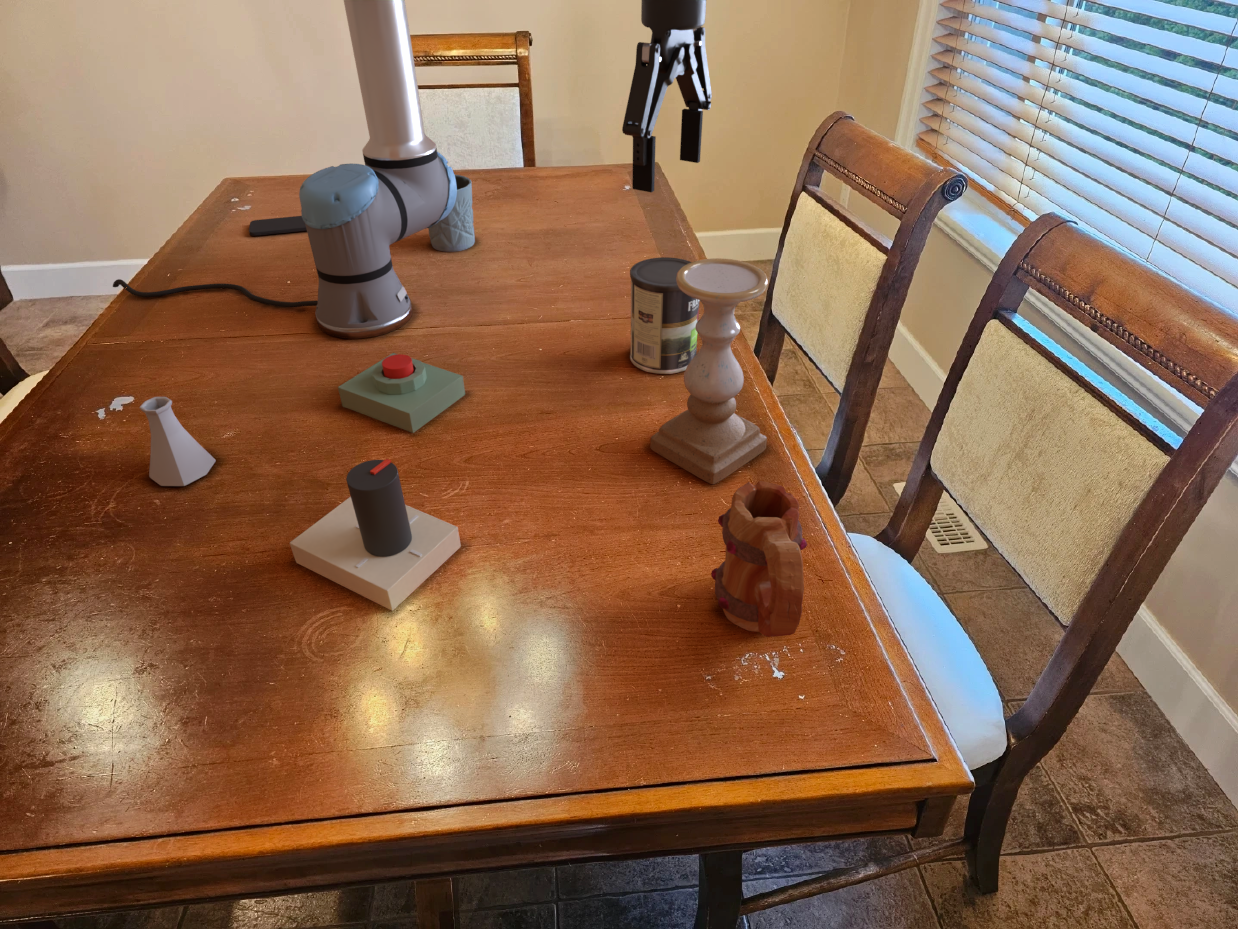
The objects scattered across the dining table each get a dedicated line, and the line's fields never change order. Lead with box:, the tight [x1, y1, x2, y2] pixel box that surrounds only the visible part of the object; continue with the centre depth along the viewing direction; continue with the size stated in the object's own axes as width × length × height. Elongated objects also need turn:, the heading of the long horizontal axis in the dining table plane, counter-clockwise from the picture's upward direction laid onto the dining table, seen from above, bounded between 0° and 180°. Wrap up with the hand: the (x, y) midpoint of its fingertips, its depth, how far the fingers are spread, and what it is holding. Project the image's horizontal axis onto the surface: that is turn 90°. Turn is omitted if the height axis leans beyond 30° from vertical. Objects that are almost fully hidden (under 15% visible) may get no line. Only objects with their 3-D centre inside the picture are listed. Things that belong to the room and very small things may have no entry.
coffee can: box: [629, 256, 701, 375], centre depth 117 cm, size 10×10×14 cm
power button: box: [382, 353, 414, 379], centre depth 109 cm, size 4×4×2 cm
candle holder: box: [649, 257, 769, 485], centre depth 96 cm, size 11×11×24 cm
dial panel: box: [289, 496, 462, 612], centre depth 87 cm, size 14×11×3 cm
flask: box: [139, 396, 217, 487], centre depth 97 cm, size 7×7×10 cm
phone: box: [248, 215, 307, 237], centre depth 164 cm, size 7×1×15 cm
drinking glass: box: [427, 174, 476, 253], centre depth 154 cm, size 10×10×12 cm
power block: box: [337, 352, 466, 434], centre depth 111 cm, size 13×11×5 cm
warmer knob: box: [345, 458, 412, 557], centre depth 82 cm, size 5×5×9 cm
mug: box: [710, 480, 808, 638], centre depth 75 cm, size 15×8×15 cm, turn 5°
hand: (667, 174), depth 104 cm, fingers open, 13 cm apart
